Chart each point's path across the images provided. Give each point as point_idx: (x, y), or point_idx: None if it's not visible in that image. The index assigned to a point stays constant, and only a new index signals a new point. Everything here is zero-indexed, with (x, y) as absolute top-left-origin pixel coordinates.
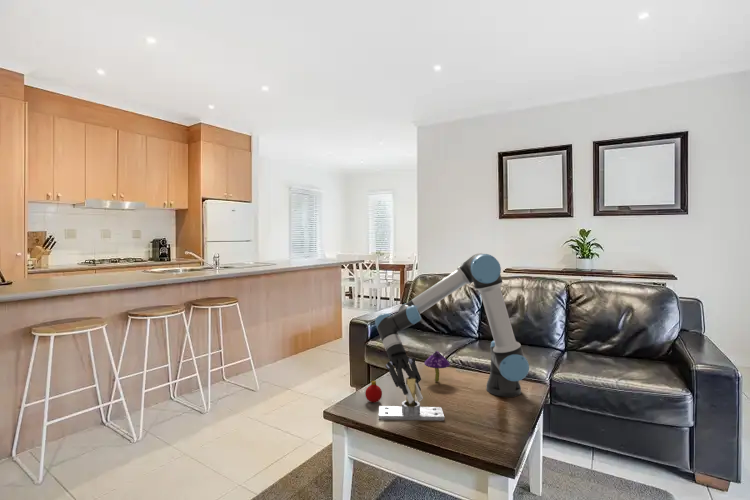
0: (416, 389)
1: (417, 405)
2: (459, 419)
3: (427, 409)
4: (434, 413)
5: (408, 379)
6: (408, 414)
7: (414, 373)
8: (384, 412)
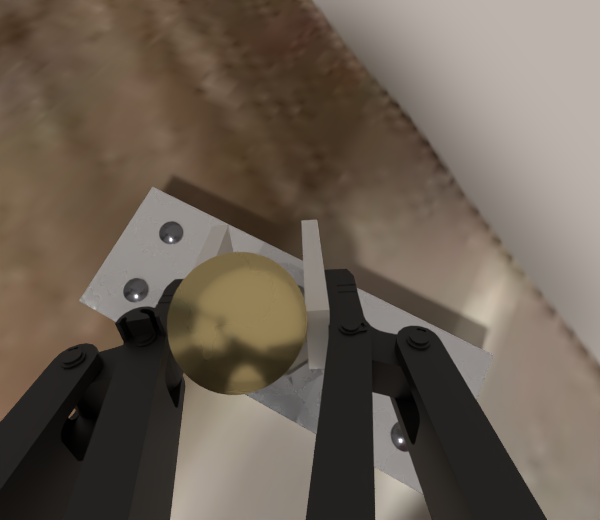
0: None
1: None
2: (87, 177)
3: None
4: (174, 238)
5: (287, 303)
6: None
7: (39, 512)
8: None
